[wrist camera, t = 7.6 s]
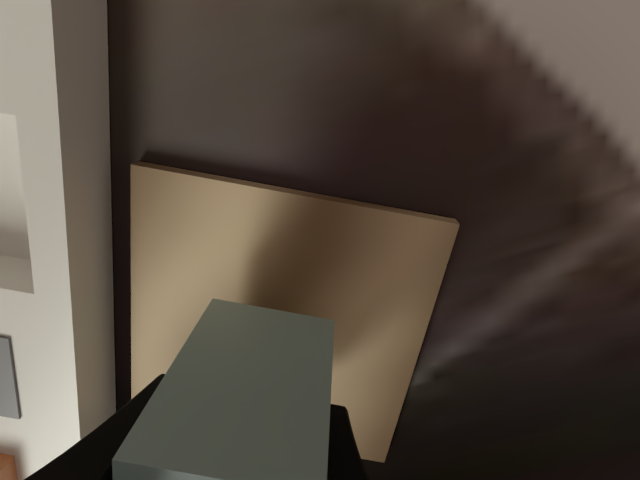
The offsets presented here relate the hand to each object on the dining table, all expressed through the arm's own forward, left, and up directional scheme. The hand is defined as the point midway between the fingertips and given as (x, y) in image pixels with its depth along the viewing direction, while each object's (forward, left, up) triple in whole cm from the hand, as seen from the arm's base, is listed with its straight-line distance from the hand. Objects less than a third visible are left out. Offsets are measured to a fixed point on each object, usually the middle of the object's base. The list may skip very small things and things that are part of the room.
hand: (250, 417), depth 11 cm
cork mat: (0, 0, -5) cm, 5 cm away
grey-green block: (0, 0, -2) cm, 3 cm away
